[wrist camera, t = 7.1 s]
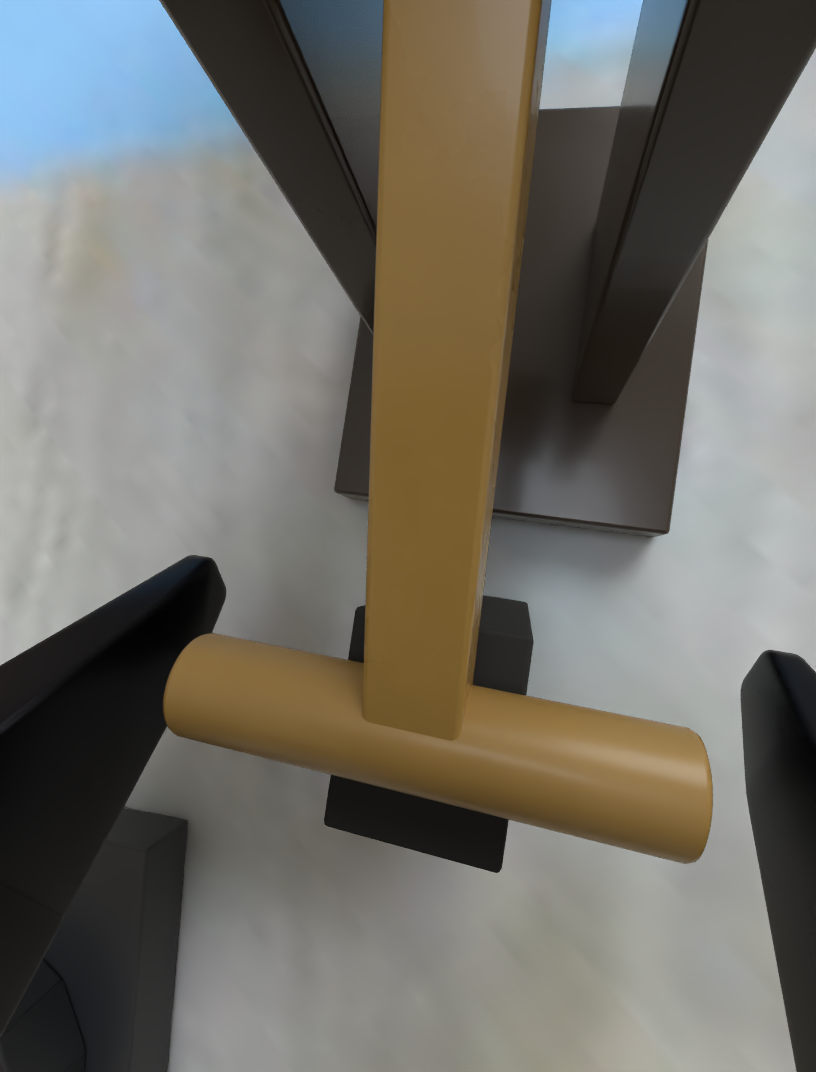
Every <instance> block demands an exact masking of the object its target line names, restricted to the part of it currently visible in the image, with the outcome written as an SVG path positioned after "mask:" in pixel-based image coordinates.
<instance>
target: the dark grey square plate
mask: <svg viewBox="0 0 816 1072" xmlns="http://www.w3.org/2000/svg"><path fill="white" fill-rule="evenodd" d="M187 823H188V822H187V820H185V819H180V818H175V817H169V816H164V815H159V814H154V813H148V812H143V811H138V810H132V809H127V808H123V809H122V811H121V813H120V815H119V817H118V819H117V820H116V822H115V824H114V826H113V828H112V830H111V832H110V834H109V835H108V837H107V839H106V841H105V843H104V845H103V847H102V849H101V850H100V852H99V854H98V856H97V858H96V860H95V862H94V864H93V865H92V867H91V869H90V871H89V873H88V875H87V877H86V878H85V880H84V882H83V884H82V886H81V888H80V890H79V892H78V893H77V895H76V897H75V899H74V901H73V903H72V905H71V907H70V908H69V910H68V912H67V914H66V915H65V916H64V920H63V922H62V924H61V926H60V928H59V930H58V932H57V933H56V935H55V937H54V939H53V941H52V943H51V945H50V947H49V948H48V950H47V952H46V954H45V956H44V958H43V960H42V961H41V963H40V965H39V967H38V969H37V971H36V973H35V975H34V976H33V978H32V980H31V982H30V984H29V986H28V988H27V989H26V991H25V993H24V995H23V997H22V999H21V1001H20V1003H19V1004H18V1006H17V1008H16V1010H15V1012H14V1014H13V1016H12V1018H11V1019H10V1021H9V1023H8V1025H7V1027H6V1029H5V1031H4V1032H3V1034H2V1036H1V1038H0V1072H167V1068H168V1056H169V1044H170V1032H171V1019H172V1007H173V995H174V982H175V970H176V958H177V946H178V933H179V921H180V909H181V896H182V884H183V872H184V860H185V847H186V835H187Z"/></svg>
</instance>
